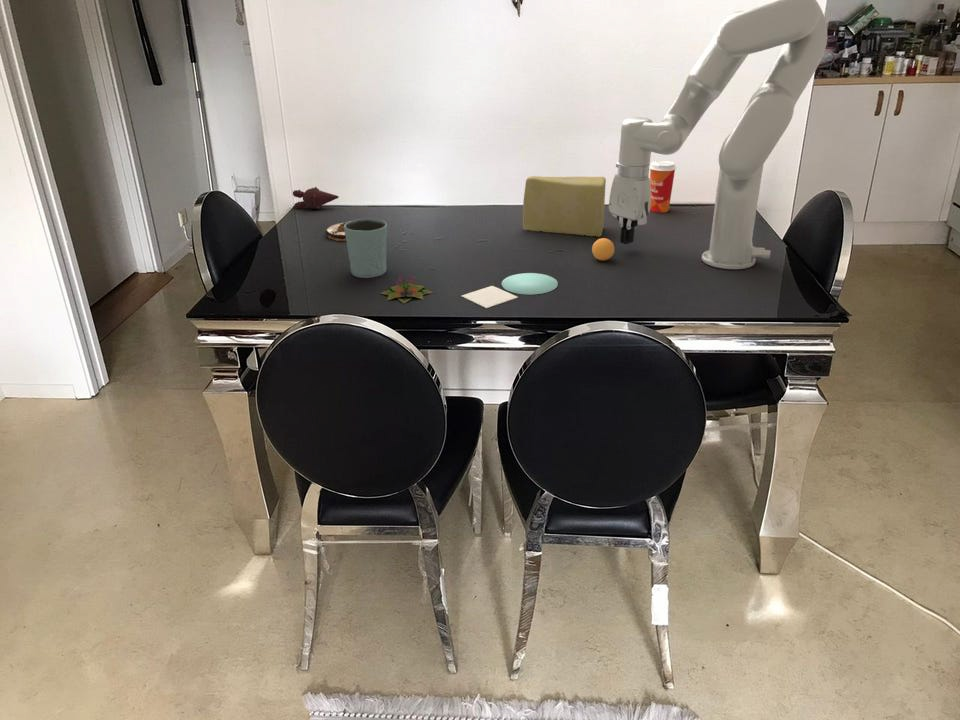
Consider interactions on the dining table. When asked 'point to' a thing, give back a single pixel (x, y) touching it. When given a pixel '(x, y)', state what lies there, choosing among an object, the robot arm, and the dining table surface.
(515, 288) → the disc
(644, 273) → the dining table surface
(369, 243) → the green ceramic cup
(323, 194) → the icecream
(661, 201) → the paper cup
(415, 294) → the lily flower
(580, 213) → the cheese
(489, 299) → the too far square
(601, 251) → the ball
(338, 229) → the golden round pastry
